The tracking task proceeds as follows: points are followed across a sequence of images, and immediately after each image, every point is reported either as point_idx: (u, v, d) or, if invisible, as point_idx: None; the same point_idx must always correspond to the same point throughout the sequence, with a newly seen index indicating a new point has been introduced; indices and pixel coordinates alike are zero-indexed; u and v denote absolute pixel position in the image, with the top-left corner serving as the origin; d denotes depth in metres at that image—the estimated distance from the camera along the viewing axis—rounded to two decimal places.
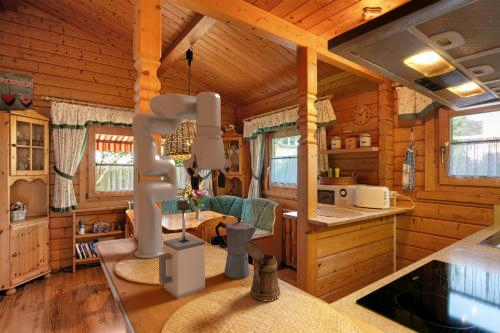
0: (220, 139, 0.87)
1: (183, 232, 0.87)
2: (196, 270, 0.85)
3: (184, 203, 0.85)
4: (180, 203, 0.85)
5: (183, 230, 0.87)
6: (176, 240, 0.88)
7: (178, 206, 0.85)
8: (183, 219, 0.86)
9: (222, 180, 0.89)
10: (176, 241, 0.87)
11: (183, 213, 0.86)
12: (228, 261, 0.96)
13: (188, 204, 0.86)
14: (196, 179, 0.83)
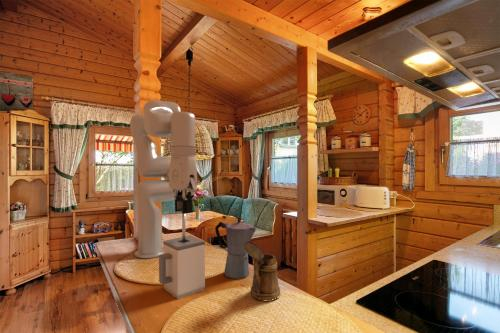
0: None
1: (183, 232, 0.87)
2: (196, 270, 0.85)
3: None
4: (180, 203, 0.85)
5: (183, 230, 0.87)
6: (176, 240, 0.88)
7: (178, 206, 0.85)
8: (183, 219, 0.86)
9: None
10: (176, 241, 0.87)
11: (183, 213, 0.86)
12: (228, 261, 0.96)
13: None
14: (192, 201, 0.86)
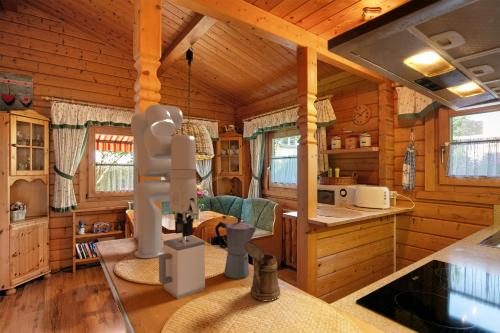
0: None
1: None
2: (196, 270, 0.85)
3: None
4: (180, 226, 0.85)
5: None
6: (176, 240, 0.88)
7: (178, 229, 0.85)
8: (183, 241, 0.87)
9: None
10: (176, 241, 0.87)
11: (183, 236, 0.87)
12: (228, 261, 0.96)
13: None
14: (192, 224, 0.86)
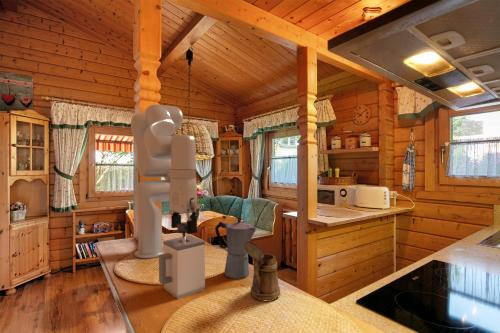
0: None
1: None
2: (196, 270, 0.85)
3: (184, 226, 0.85)
4: (180, 226, 0.85)
5: None
6: (176, 240, 0.88)
7: (178, 229, 0.85)
8: (183, 242, 0.87)
9: (179, 219, 0.91)
10: (176, 241, 0.87)
11: (183, 236, 0.87)
12: (228, 261, 0.96)
13: None
14: (196, 221, 0.84)
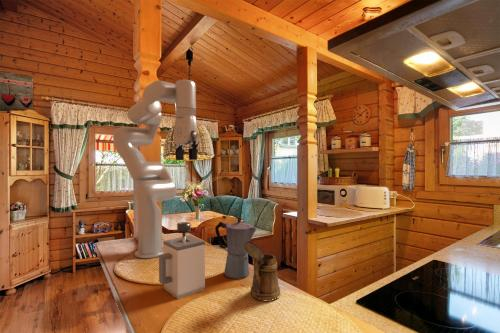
0: None
1: None
2: (196, 270, 0.85)
3: (184, 226, 0.85)
4: (180, 226, 0.85)
5: None
6: (176, 240, 0.88)
7: (178, 229, 0.85)
8: (183, 242, 0.87)
9: (182, 153, 1.09)
10: (176, 241, 0.87)
11: (183, 236, 0.87)
12: (228, 261, 0.96)
13: (188, 227, 0.86)
14: (196, 150, 1.02)
